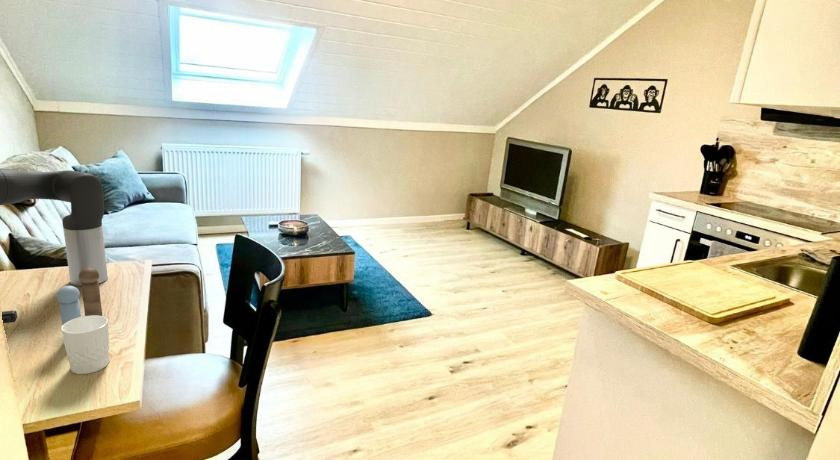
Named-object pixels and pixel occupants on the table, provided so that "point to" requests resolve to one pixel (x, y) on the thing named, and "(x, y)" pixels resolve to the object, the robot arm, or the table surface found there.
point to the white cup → (86, 343)
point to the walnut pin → (90, 291)
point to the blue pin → (69, 303)
